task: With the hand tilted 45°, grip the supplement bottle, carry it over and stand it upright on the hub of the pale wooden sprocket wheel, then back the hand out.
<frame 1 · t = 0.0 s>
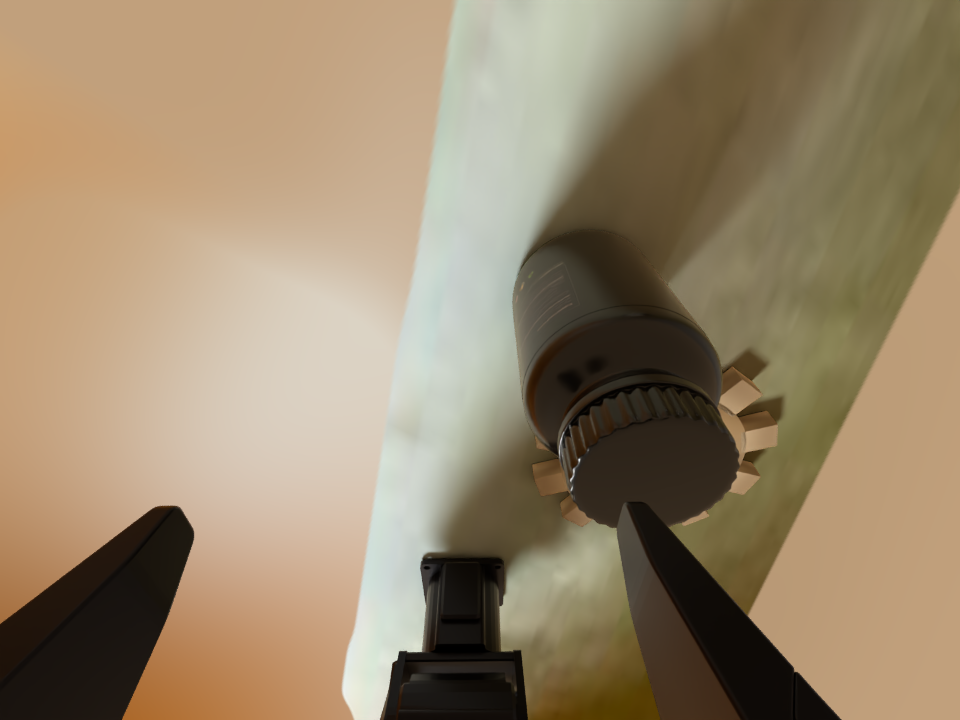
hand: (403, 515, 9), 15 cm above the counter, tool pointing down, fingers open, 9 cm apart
supplement bottle: (578, 290, 23), on the counter
sprocket wheel: (646, 448, 29), on the counter
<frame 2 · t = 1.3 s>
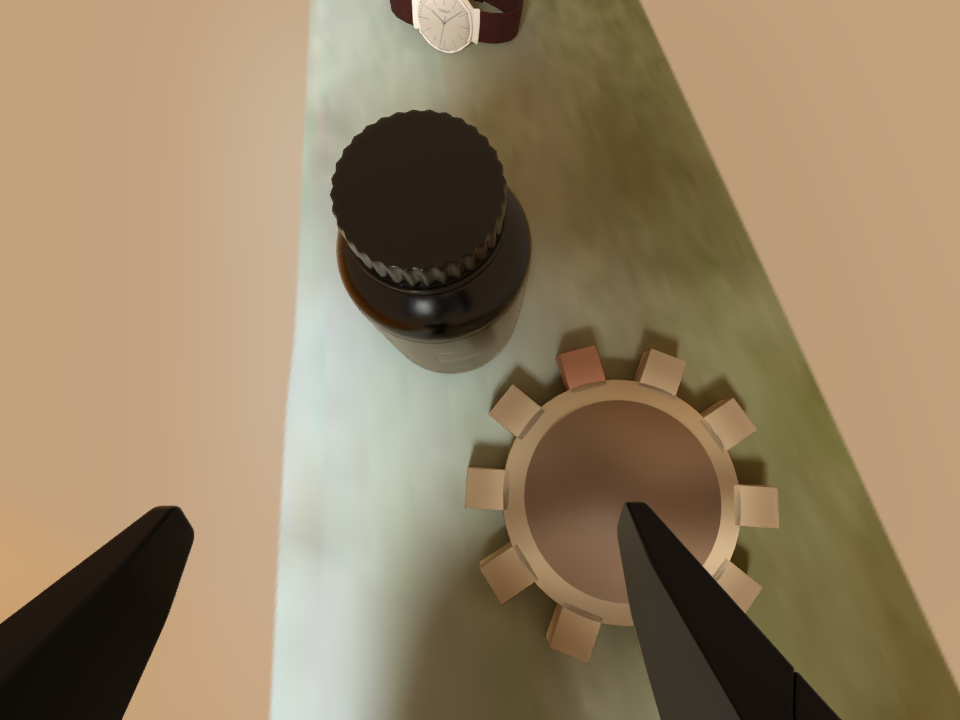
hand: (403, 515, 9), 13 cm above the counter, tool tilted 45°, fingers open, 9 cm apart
supplement bottle: (451, 311, 24), on the counter
watch: (456, 26, 27), on the counter
sprocket wheel: (614, 494, 22), on the counter
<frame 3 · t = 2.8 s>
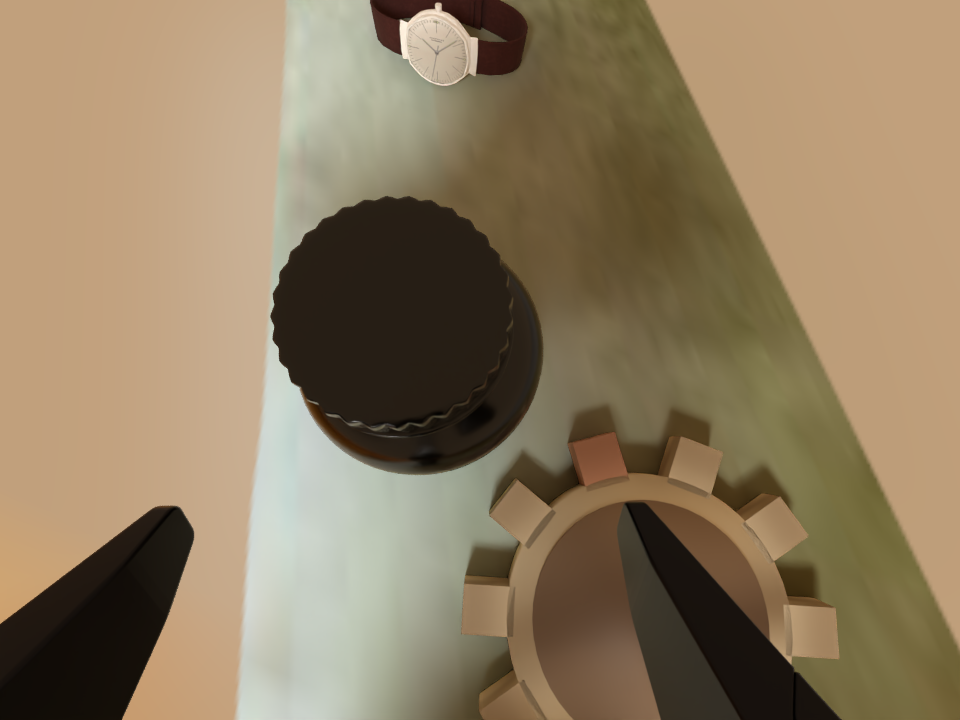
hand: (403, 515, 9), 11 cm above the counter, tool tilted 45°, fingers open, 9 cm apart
supplement bottle: (445, 386, 21), on the counter
watch: (451, 55, 24), on the counter
sprocket wheel: (638, 609, 19), on the counter
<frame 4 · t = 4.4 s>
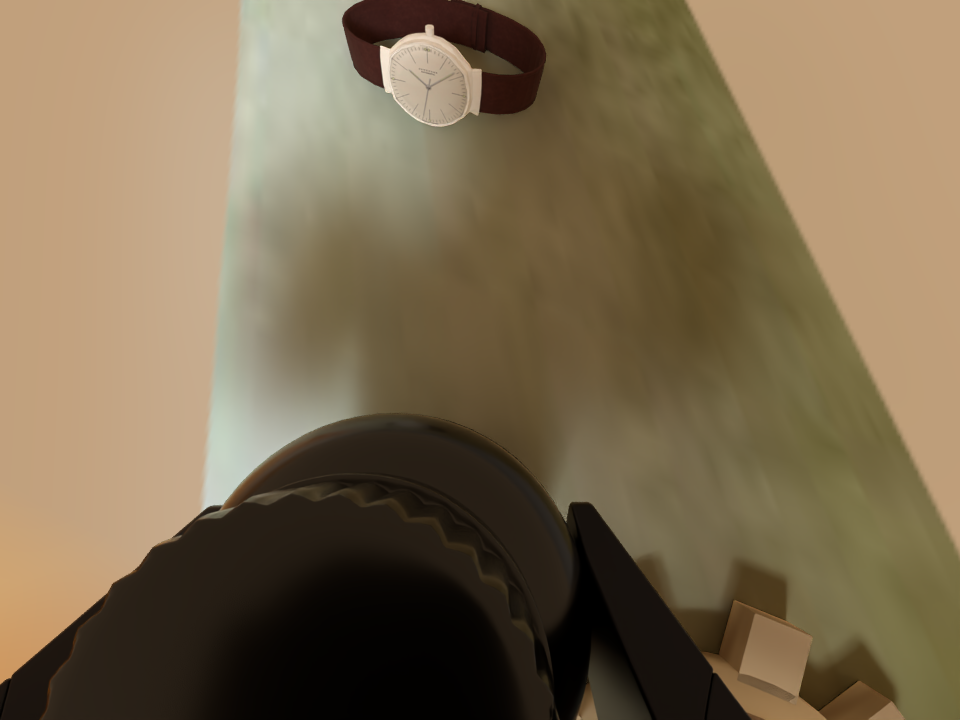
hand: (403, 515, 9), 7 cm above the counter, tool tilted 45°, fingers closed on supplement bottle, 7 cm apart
supplement bottle: (437, 526, 16), on the counter, touching gripper
watch: (448, 85, 19), on the counter
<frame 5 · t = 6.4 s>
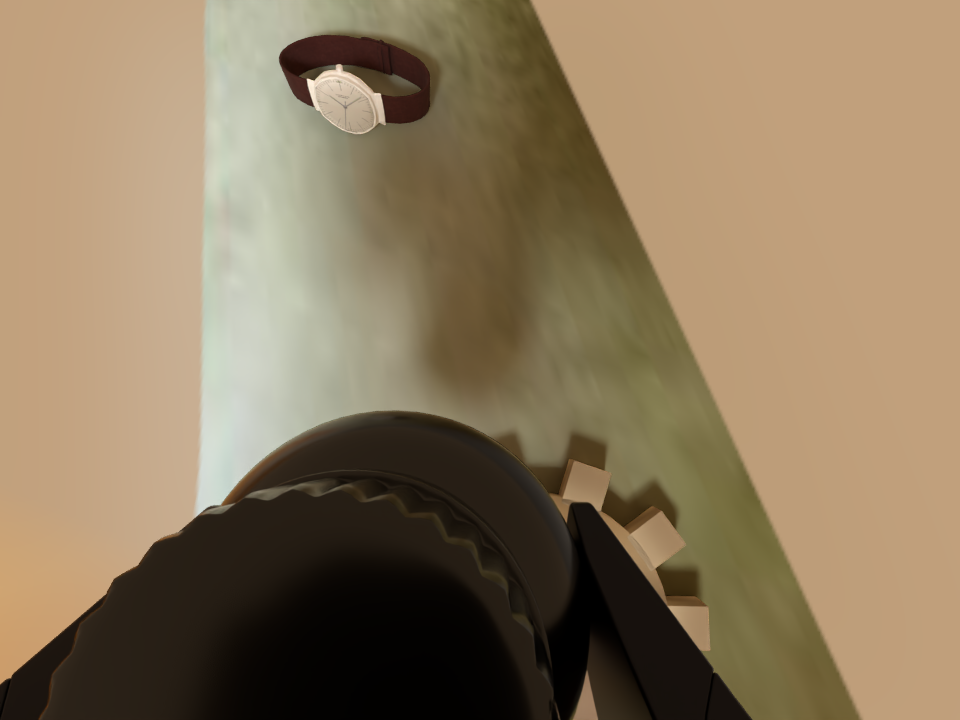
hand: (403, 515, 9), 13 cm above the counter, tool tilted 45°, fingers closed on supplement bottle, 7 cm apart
supplement bottle: (436, 524, 16), point 6 cm above the counter, touching gripper
watch: (366, 101, 25), on the counter
sprocket wheel: (541, 614, 21), on the counter
when the fingers open (9 cm above the counter, at t = 8.4 s): supplement bottle drops 1 cm, resting on sprocket wheel.
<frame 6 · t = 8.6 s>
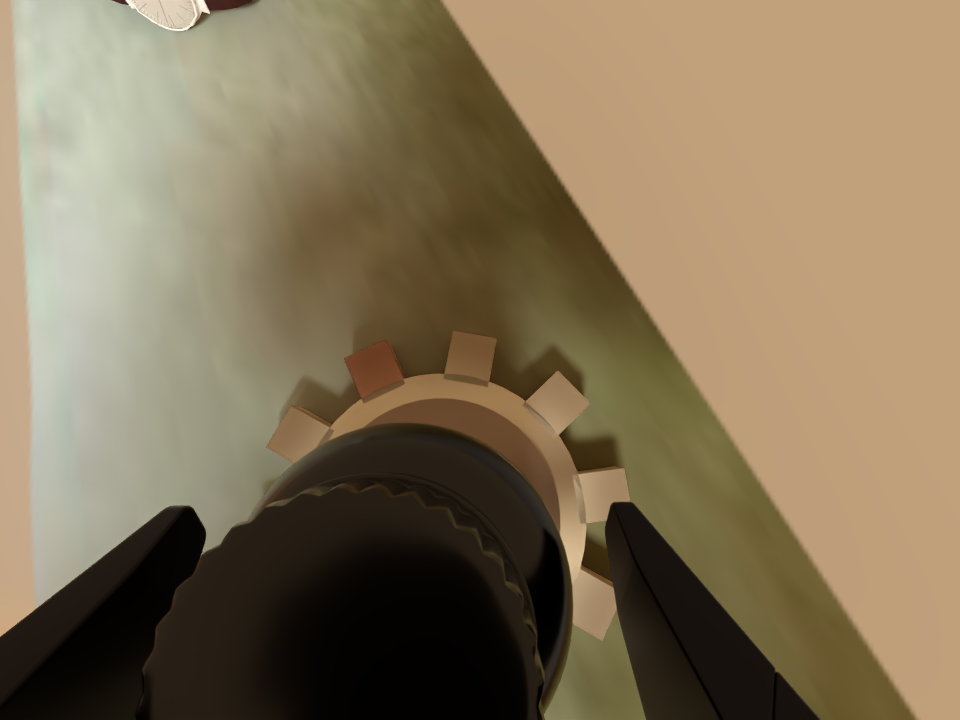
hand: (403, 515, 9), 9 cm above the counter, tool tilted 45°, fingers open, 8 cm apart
supplement bottle: (438, 525, 17), point 1 cm above the counter, touching sprocket wheel
watch: (193, 0, 23), on the counter
sprocket wheel: (442, 513, 18), on the counter
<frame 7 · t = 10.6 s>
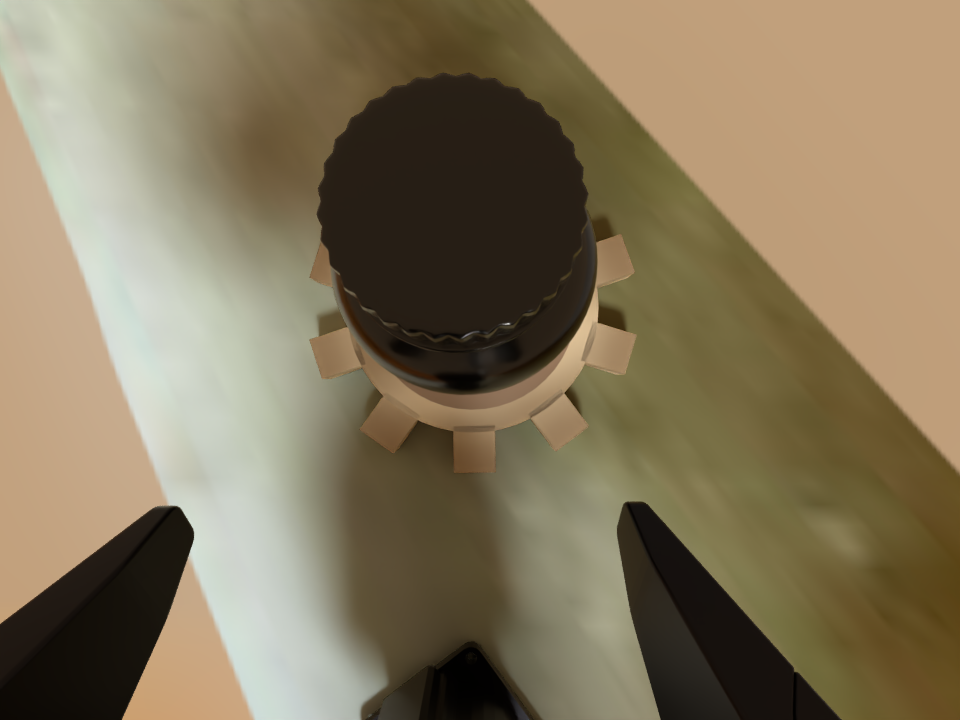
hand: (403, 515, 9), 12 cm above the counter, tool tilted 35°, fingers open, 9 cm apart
supplement bottle: (472, 311, 20), point 1 cm above the counter, touching sprocket wheel
sprocket wheel: (472, 310, 21), on the counter
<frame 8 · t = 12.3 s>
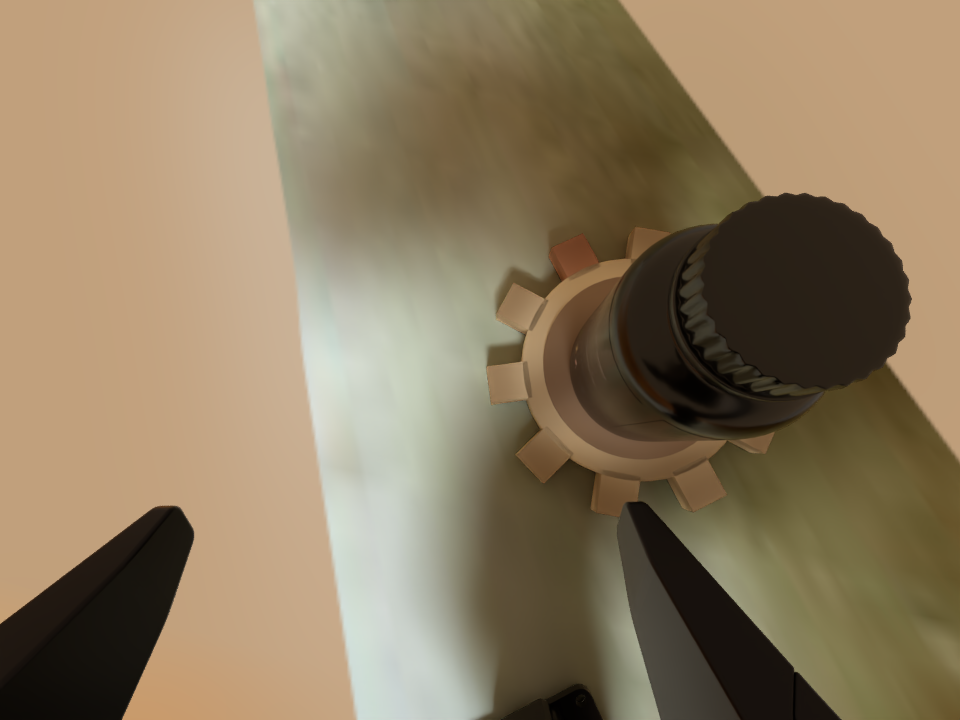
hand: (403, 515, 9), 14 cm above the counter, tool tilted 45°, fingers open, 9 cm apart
supplement bottle: (634, 370, 22), point 1 cm above the counter, touching sprocket wheel
sprocket wheel: (627, 369, 24), on the counter
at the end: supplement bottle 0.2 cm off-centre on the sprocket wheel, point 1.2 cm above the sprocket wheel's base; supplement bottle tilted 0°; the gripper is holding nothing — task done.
